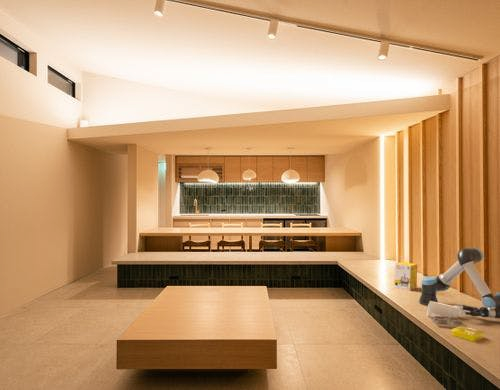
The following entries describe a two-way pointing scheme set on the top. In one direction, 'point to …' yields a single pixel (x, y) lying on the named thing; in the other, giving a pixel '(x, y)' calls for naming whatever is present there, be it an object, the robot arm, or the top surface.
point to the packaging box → (405, 276)
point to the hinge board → (447, 322)
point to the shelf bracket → (442, 310)
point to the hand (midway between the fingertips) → (457, 309)
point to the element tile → (468, 333)
